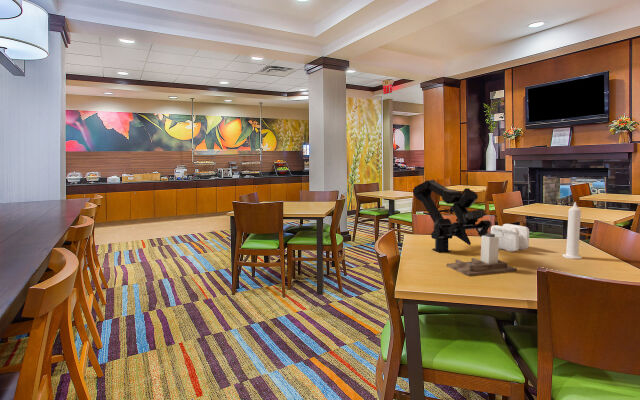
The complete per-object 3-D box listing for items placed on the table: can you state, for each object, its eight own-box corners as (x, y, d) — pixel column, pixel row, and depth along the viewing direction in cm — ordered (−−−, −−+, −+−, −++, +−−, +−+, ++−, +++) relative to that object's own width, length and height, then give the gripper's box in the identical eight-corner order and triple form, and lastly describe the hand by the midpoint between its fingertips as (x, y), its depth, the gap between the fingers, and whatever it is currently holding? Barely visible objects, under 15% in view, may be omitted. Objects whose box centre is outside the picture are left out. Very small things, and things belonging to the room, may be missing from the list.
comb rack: (446, 266, 151) (446, 259, 151) (491, 262, 157) (491, 255, 157) (468, 275, 138) (468, 268, 138) (516, 271, 143) (517, 263, 143)
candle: (579, 256, 166) (583, 201, 163) (583, 259, 159) (586, 203, 157) (561, 254, 169) (564, 200, 166) (564, 258, 162) (567, 202, 160)
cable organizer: (530, 251, 176) (531, 227, 175) (515, 253, 171) (516, 229, 170) (503, 245, 189) (504, 223, 188) (488, 247, 185) (489, 224, 184)
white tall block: (480, 264, 150) (481, 233, 148) (489, 263, 151) (490, 232, 150) (488, 267, 145) (489, 235, 144) (497, 266, 147) (498, 234, 146)
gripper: (453, 203, 154) (470, 234, 144) (489, 202, 159) (508, 231, 150) (441, 219, 162) (456, 249, 153) (476, 217, 168) (493, 245, 158)
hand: (479, 243), depth 153 cm, fingers open, 9 cm apart
